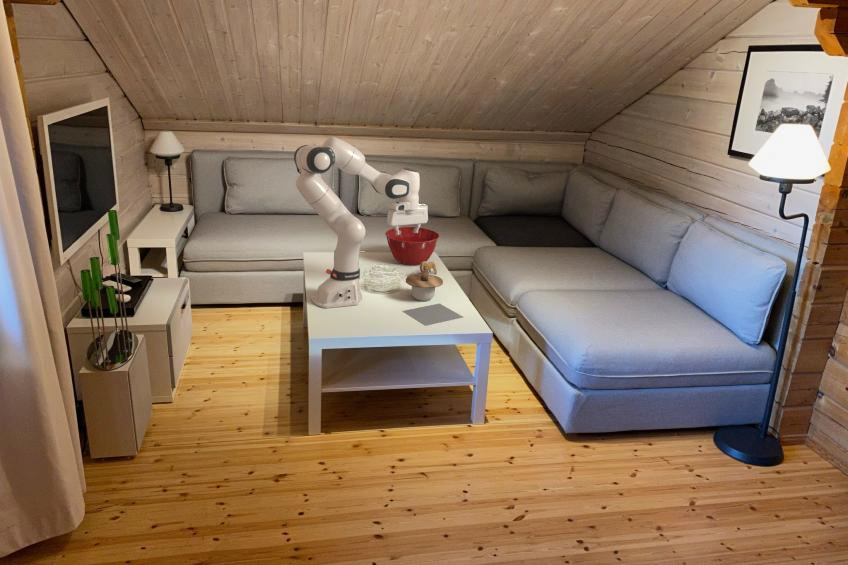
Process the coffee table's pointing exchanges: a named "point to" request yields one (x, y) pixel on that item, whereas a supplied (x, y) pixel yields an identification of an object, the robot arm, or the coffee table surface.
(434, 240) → the mixing bowl
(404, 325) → the coffee table surface
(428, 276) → the lid
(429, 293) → the teacup
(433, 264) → the lion figurine
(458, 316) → the mat
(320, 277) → the coffee table surface
